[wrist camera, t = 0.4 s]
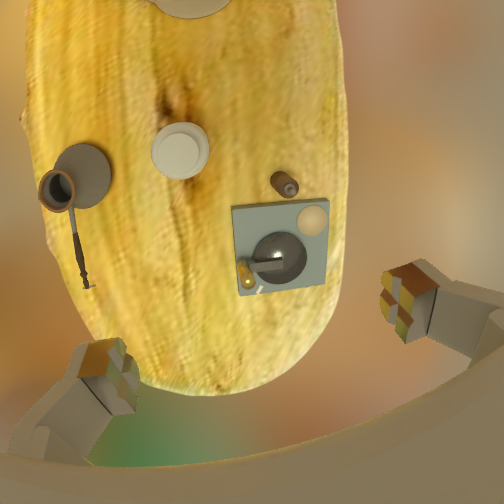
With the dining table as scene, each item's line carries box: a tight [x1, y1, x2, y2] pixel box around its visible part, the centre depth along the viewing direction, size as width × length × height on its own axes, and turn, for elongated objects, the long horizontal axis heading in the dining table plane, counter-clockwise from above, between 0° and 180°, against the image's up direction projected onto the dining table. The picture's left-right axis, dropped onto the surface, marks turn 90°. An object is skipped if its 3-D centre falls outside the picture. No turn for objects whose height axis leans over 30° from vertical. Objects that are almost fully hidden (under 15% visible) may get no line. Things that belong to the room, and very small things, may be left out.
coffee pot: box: [38, 144, 111, 289], centre depth 41 cm, size 21×12×15 cm, turn 9°
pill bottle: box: [151, 122, 209, 179], centre depth 40 cm, size 8×8×15 cm
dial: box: [237, 232, 307, 290], centre depth 53 cm, size 10×13×8 cm
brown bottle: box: [270, 171, 299, 199], centre depth 48 cm, size 3×3×9 cm
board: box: [231, 198, 330, 296], centre depth 57 cm, size 18×18×2 cm
